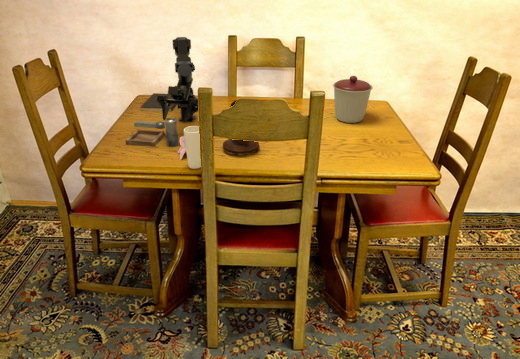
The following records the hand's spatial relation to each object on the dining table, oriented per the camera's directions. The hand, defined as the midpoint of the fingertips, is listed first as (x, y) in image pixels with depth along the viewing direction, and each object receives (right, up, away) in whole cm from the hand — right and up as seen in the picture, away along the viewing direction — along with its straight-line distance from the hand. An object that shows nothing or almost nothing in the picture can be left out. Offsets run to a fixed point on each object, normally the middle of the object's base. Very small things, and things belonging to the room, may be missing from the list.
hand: (173, 121), depth 187 cm
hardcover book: (-15, +15, +50) cm, 54 cm away
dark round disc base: (+28, -12, -1) cm, 30 cm away
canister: (+78, +5, +31) cm, 84 cm away
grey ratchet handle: (-16, 0, +21) cm, 26 cm away
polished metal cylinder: (-1, -10, +3) cm, 10 cm away
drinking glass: (+11, -19, -15) cm, 27 cm away
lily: (+7, -14, -6) cm, 17 cm away
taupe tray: (-13, -8, +7) cm, 17 cm away
